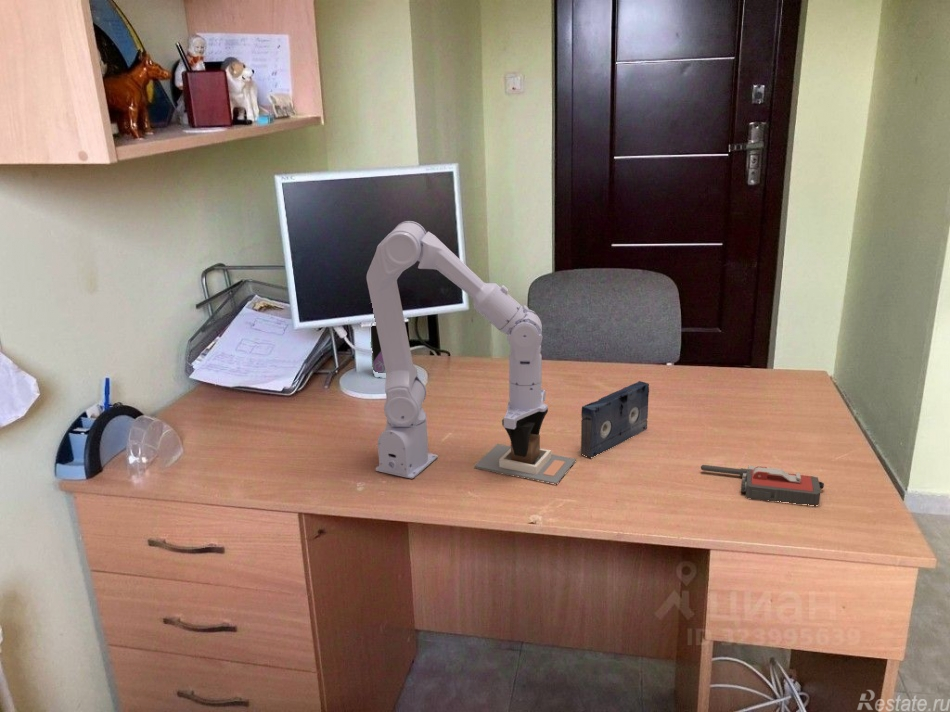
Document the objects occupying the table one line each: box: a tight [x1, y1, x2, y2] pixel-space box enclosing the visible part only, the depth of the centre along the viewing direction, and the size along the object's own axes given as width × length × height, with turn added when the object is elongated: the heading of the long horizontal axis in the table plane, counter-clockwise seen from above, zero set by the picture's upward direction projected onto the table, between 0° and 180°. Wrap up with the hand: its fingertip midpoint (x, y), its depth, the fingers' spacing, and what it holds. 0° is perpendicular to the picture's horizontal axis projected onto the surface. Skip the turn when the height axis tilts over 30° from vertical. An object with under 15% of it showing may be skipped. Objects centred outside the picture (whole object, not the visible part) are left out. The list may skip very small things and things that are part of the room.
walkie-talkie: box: [700, 464, 825, 506], centre depth 132 cm, size 9×4×20 cm
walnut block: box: [510, 434, 541, 464], centre depth 142 cm, size 4×4×4 cm
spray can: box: [370, 326, 386, 373], centre depth 186 cm, size 6×6×20 cm
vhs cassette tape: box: [580, 380, 650, 459], centre depth 150 cm, size 18×3×10 cm, turn 132°
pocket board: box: [473, 443, 577, 484], centre depth 142 cm, size 10×16×2 cm, turn 63°
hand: (525, 450), depth 142 cm, fingers closed on walnut block, 4 cm apart
